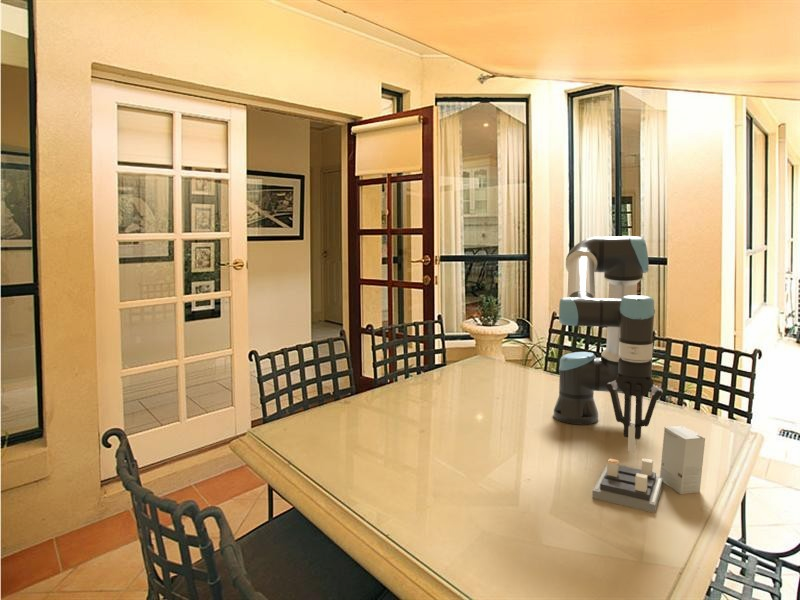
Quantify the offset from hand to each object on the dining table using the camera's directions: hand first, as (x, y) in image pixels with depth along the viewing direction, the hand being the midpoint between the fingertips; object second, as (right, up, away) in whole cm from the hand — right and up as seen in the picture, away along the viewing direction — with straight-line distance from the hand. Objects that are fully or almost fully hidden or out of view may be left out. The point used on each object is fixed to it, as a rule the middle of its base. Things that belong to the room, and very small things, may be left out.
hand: (631, 449), depth 131 cm
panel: (0, -11, +1) cm, 11 cm away
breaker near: (0, -8, -5) cm, 10 cm away
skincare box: (+14, -11, +3) cm, 18 cm away
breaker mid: (-4, -7, +3) cm, 8 cm away
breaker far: (+5, -7, +3) cm, 9 cm away
